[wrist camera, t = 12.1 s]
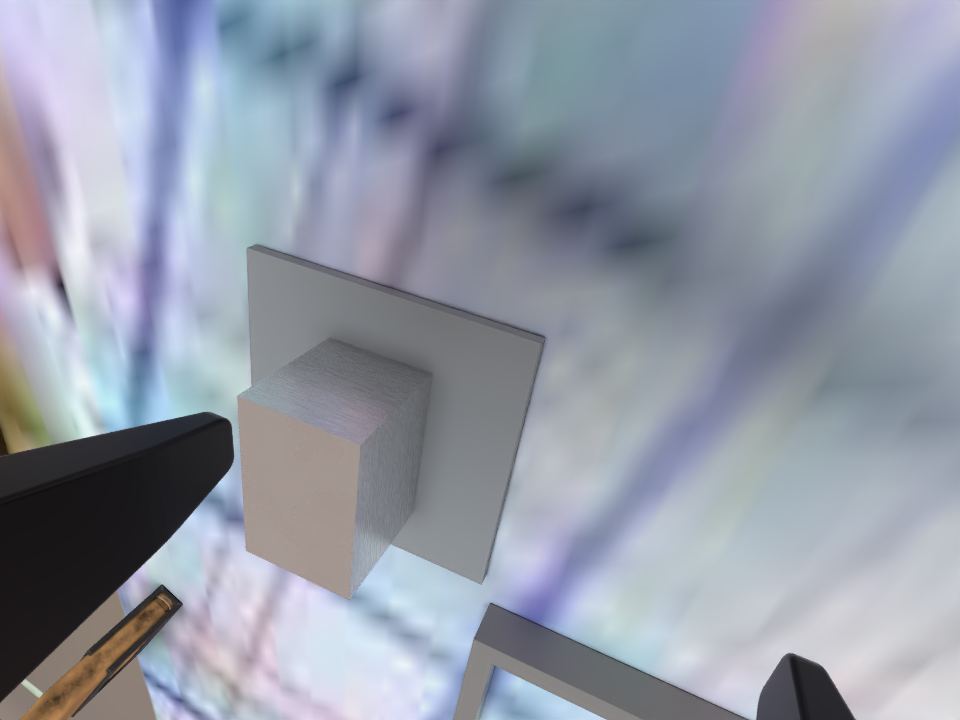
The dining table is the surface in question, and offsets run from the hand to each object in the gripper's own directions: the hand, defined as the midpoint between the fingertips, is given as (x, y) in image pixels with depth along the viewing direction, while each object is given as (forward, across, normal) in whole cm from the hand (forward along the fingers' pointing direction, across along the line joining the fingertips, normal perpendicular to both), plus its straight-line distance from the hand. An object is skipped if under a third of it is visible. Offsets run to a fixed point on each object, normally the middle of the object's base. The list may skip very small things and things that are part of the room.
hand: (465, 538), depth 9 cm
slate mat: (+11, +8, +8) cm, 16 cm away
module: (+11, +8, +8) cm, 15 cm away
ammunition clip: (+11, +25, +31) cm, 41 cm away
